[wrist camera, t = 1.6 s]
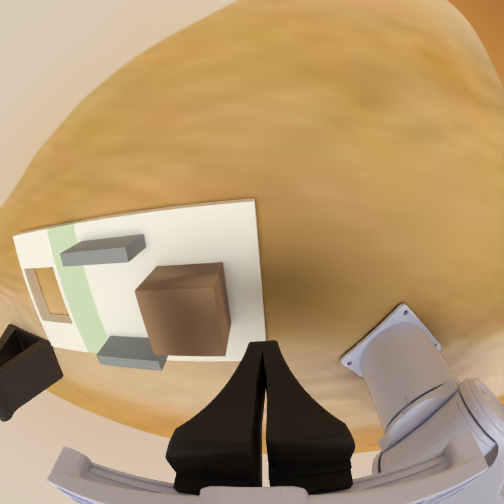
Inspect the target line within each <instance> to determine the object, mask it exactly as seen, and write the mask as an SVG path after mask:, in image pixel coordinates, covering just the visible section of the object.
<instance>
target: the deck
mask: <svg viewBox="0 0 504 504" xmlns="http://www.w3.org/2000/svg"><path fill="white" fill-rule="evenodd" d="M73 225H74V230H75V234H76V239H77V244H76V245H74V246H72V247H70V248H69V249H67V250H65V251H63V252H62V253H60V257H61V260H62V264H63V267H66V266H81V265H83V267H84V270H85V274H86V277H87V281H88V284H89V287H90V290H91V293H92V297H93V300H94V303H95V305H96V308H97V311H98V314H99V317H100V319H101V322H102V325H103V327H104V330H105V333H106V335H107V338H108V340H107V341H106V343H105V344H104V345H103V347H102V348H101V349H100V351H99V352H98V353H97V358H98V360H99V362H100V364H104V365H112V366H119V367H128V368H137V369H148V370H160V371H162V369H163V367H164V364H165V362H166V360H176V361H241V360H242V358H243V356H244V354H245V352H246V349H247V346H248V344H249V343H250V342H255V341H266V330H265V317H264V304H263V291H262V279H261V266H260V254H259V242H258V230H257V218H256V206H255V198H249V199H238V200H227V201H216V202H206V203H197V204H188V205H179V206H171V207H163V208H156V209H148V210H141V211H134V212H127V213H121V214H114V215H108V216H102V217H96V218H90V219H84V220H81V221H79V222H77V223H75V224H73ZM53 226H55V225H53ZM50 227H52V226H48V227H43V228H38V229H33V230H29V231H24V232H21V233H19V234H16V235H14V236H13V239H14V243H15V247H16V251H17V255H18V258H19V262H20V265H21V269H22V272H23V275H24V278H25V281H26V284H27V287H28V290H29V293H30V296H31V299H32V301H33V304H34V306H35V309H36V311H37V314H38V316H39V319H40V321H41V323H42V326H43V328H44V330H45V332H46V335H47V337H48V339H49V341H50V343H51V345H52V346H53V347H58V348H64V349H70V350H76V351H82V352H88V349H87V347H86V345H85V343H84V341H83V338H82V336H81V334H80V331H79V329H78V326H77V324H76V322H75V319H74V317H73V314H72V311H71V309H70V306H69V303H68V300H67V298H66V295H65V292H64V289H63V286H62V283H61V280H60V276H59V273H58V270H57V266H56V263H55V259H54V255H53V252H52V248H51V244H50V239H49V235H48V231H47V229H48V228H50ZM216 262H223V267H224V274H225V281H226V289H227V296H228V303H229V310H230V316H231V328H230V333H229V339H228V345H227V350H226V356H170V355H155V354H154V351H153V349H152V346H151V343H150V340H149V337H148V334H147V331H146V328H145V325H144V322H143V318H142V315H141V312H140V309H139V305H138V302H137V298H136V295H135V290H136V288H137V287H138V286H139V285H140V284H141V283H142V282H143V281H144V279H145V278H146V277H147V276H148V275H149V274H150V273H151V272H152V271H153V269H154V268H155V267H156V266H169V265H185V264H201V263H216ZM43 267H53V269H54V272H55V275H56V279H57V282H58V285H59V288H60V291H61V294H62V297H63V300H64V302H65V305H66V308H67V310H68V313H69V315H58V314H50V313H49V310H48V307H47V305H46V302H45V299H44V297H43V294H42V291H41V288H40V285H39V282H38V279H37V276H36V273H35V270H34V268H43Z"/></svg>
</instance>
